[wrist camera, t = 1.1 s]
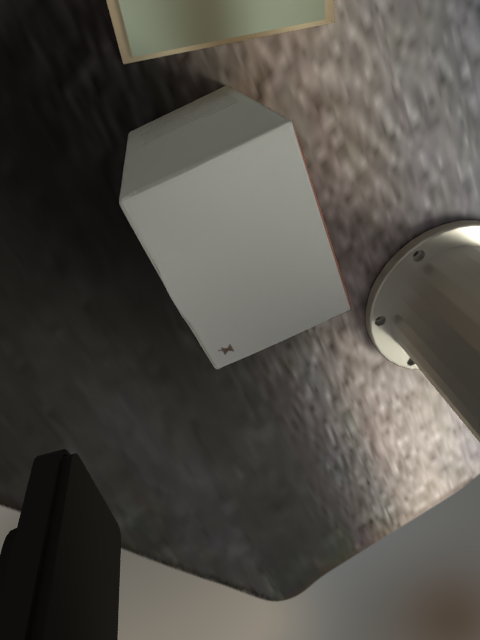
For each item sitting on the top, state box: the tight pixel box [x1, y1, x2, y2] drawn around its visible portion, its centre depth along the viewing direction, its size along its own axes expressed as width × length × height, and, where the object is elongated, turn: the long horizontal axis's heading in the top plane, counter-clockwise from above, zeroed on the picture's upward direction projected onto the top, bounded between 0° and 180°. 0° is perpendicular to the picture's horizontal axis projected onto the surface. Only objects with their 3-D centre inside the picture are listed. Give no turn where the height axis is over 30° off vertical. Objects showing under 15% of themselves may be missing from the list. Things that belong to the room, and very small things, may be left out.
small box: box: [119, 85, 351, 369], centre depth 22 cm, size 8×6×13 cm
